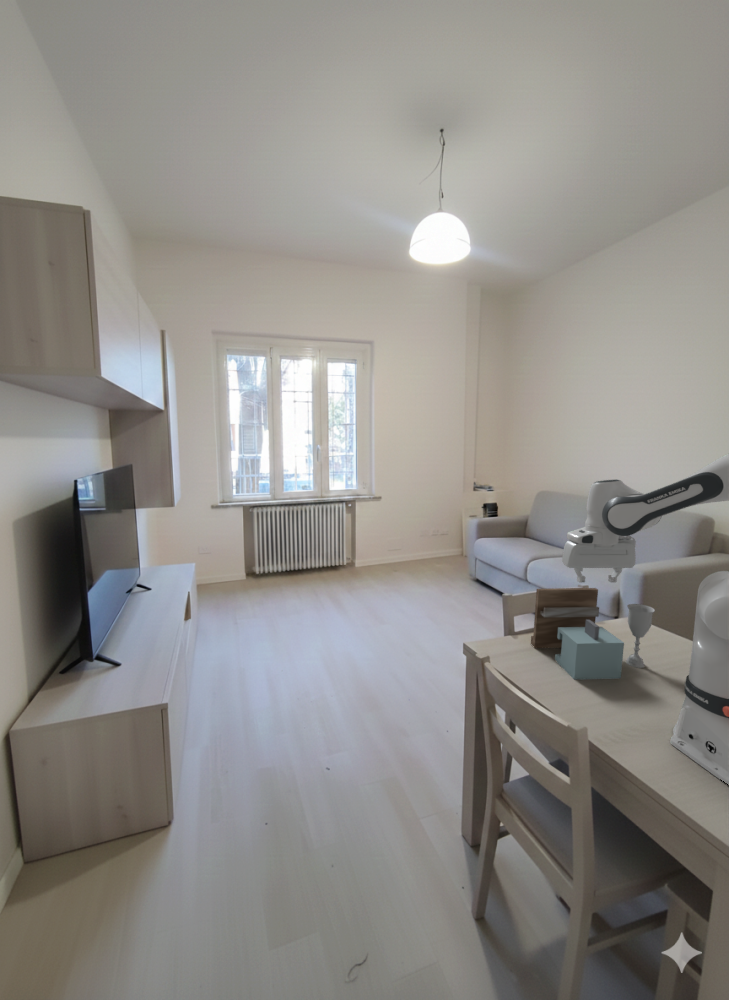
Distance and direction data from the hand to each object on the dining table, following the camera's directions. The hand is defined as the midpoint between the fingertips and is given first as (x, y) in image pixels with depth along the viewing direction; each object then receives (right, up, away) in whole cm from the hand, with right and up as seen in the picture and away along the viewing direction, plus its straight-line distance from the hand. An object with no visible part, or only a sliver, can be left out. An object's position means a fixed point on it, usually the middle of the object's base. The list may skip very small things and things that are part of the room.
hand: (596, 581), depth 129 cm
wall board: (-1, -25, +18) cm, 31 cm away
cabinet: (-1, -27, +5) cm, 28 cm away
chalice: (+16, -27, +8) cm, 33 cm away
